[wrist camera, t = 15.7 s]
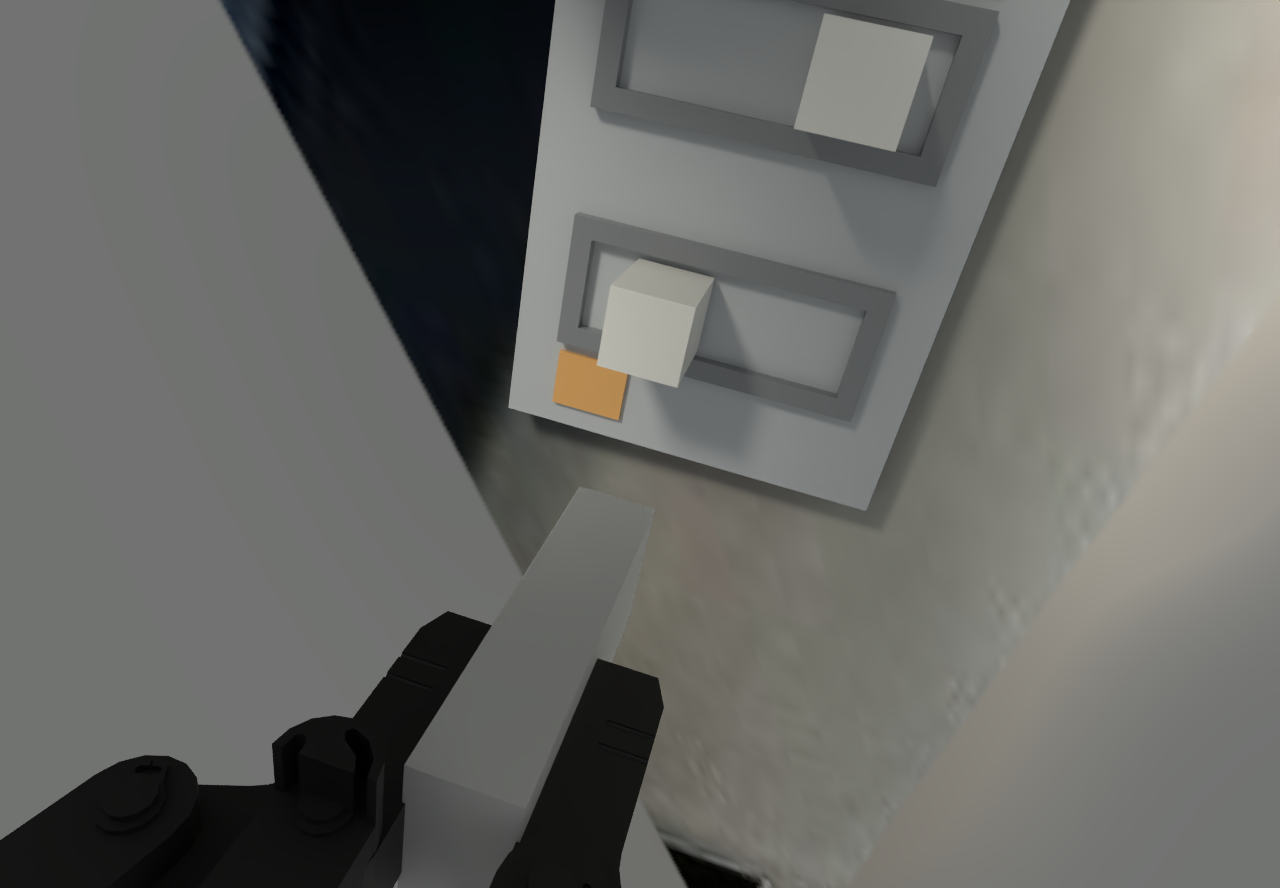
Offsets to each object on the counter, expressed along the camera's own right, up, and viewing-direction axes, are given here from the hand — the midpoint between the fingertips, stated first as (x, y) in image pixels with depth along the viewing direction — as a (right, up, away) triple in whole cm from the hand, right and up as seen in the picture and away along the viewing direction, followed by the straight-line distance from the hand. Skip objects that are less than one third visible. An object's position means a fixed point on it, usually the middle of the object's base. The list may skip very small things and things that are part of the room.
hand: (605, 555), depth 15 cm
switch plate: (+5, +12, +14) cm, 19 cm away
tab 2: (+8, +14, +10) cm, 19 cm away
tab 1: (+2, +8, +15) cm, 17 cm away
